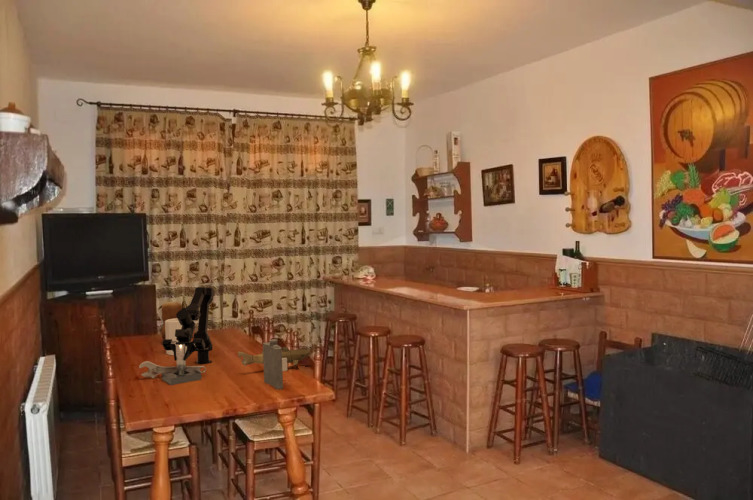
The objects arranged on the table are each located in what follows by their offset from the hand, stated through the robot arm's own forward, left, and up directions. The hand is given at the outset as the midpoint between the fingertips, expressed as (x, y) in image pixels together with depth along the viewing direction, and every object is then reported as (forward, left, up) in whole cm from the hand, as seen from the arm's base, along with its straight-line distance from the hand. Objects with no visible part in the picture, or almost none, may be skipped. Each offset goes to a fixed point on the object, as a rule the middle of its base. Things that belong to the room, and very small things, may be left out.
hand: (179, 360), depth 271 cm
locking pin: (-1, +1, -7) cm, 7 cm away
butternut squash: (-86, +26, -9) cm, 90 cm away
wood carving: (+14, +41, -9) cm, 44 cm away
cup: (-57, +18, -9) cm, 60 cm away
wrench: (-11, 0, -10) cm, 14 cm away
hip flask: (+36, +29, -9) cm, 47 cm away
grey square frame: (-1, +1, -9) cm, 9 cm away
